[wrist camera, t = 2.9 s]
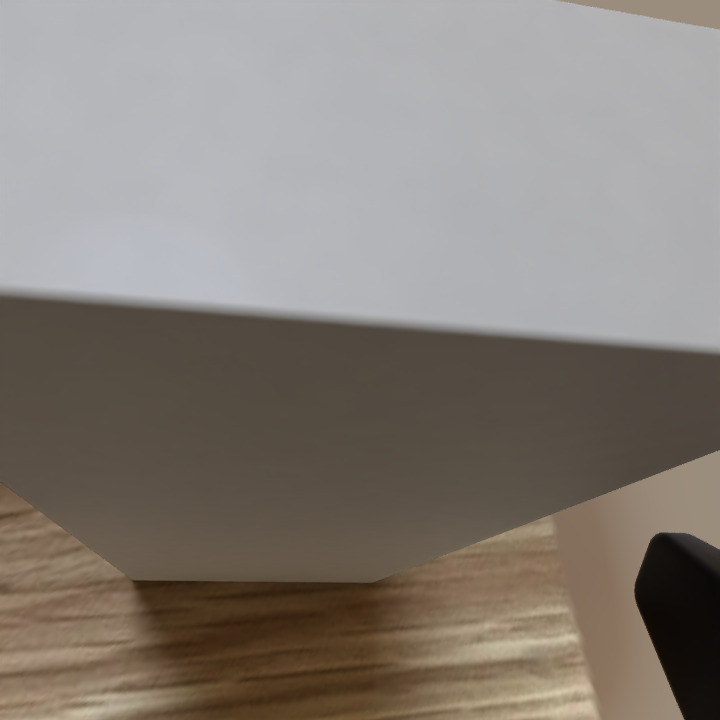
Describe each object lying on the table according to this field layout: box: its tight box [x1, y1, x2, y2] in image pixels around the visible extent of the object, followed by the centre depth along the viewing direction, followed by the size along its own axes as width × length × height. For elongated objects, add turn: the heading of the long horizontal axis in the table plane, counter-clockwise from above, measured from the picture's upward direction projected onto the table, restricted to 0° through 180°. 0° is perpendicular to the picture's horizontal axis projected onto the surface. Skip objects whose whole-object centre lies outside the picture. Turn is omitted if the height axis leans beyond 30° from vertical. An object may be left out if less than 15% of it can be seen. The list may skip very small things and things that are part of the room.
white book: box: [0, 0, 720, 583], centre depth 11 cm, size 2×6×15 cm, turn 91°
